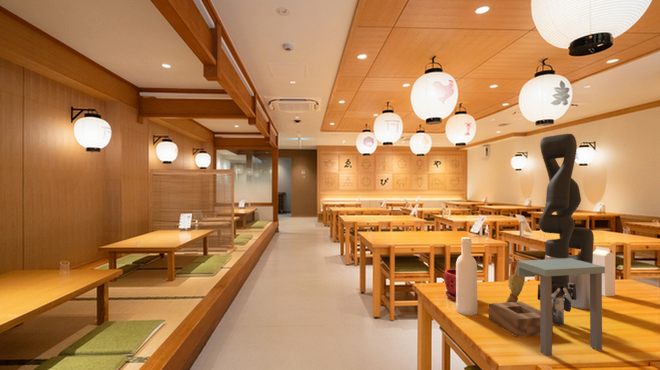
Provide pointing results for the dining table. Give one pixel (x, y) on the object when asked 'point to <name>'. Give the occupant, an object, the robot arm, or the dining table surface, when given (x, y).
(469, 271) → the bottle
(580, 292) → the robot arm
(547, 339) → the small grey stool
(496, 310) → the socket block
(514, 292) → the crab claw
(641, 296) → the dining table surface
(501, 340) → the dining table surface
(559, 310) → the peg
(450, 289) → the plant pot
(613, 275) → the milk
